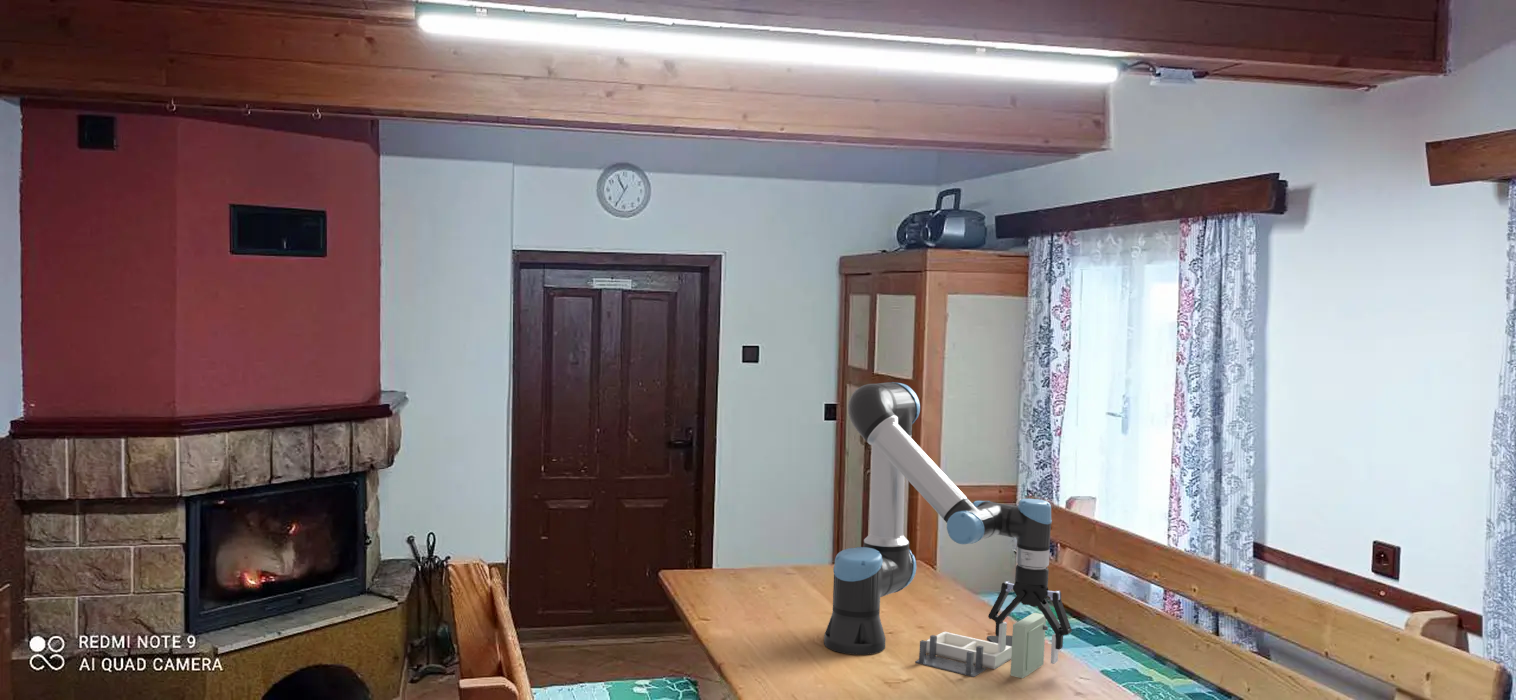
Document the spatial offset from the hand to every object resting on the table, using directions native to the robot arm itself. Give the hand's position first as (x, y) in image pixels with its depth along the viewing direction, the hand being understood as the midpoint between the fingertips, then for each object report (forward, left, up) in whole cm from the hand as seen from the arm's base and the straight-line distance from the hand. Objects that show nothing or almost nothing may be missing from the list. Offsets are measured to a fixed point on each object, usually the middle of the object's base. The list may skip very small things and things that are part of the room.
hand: (1027, 656), depth 258 cm
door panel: (0, 0, -3) cm, 3 cm away
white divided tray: (-15, 0, -3) cm, 15 cm away
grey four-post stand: (-15, -10, -3) cm, 18 cm away
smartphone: (-10, +14, -4) cm, 18 cm away
